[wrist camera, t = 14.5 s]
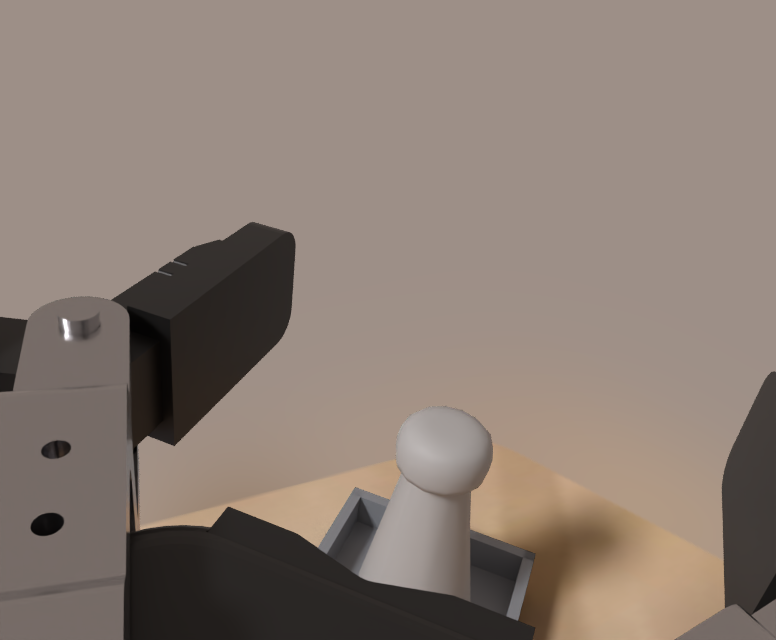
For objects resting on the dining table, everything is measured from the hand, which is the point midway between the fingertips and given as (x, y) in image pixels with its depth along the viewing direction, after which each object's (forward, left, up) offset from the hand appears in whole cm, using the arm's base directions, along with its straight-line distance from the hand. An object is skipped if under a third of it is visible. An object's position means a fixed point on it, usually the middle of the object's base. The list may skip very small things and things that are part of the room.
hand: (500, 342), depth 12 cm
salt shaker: (+3, -15, -27) cm, 31 cm away
